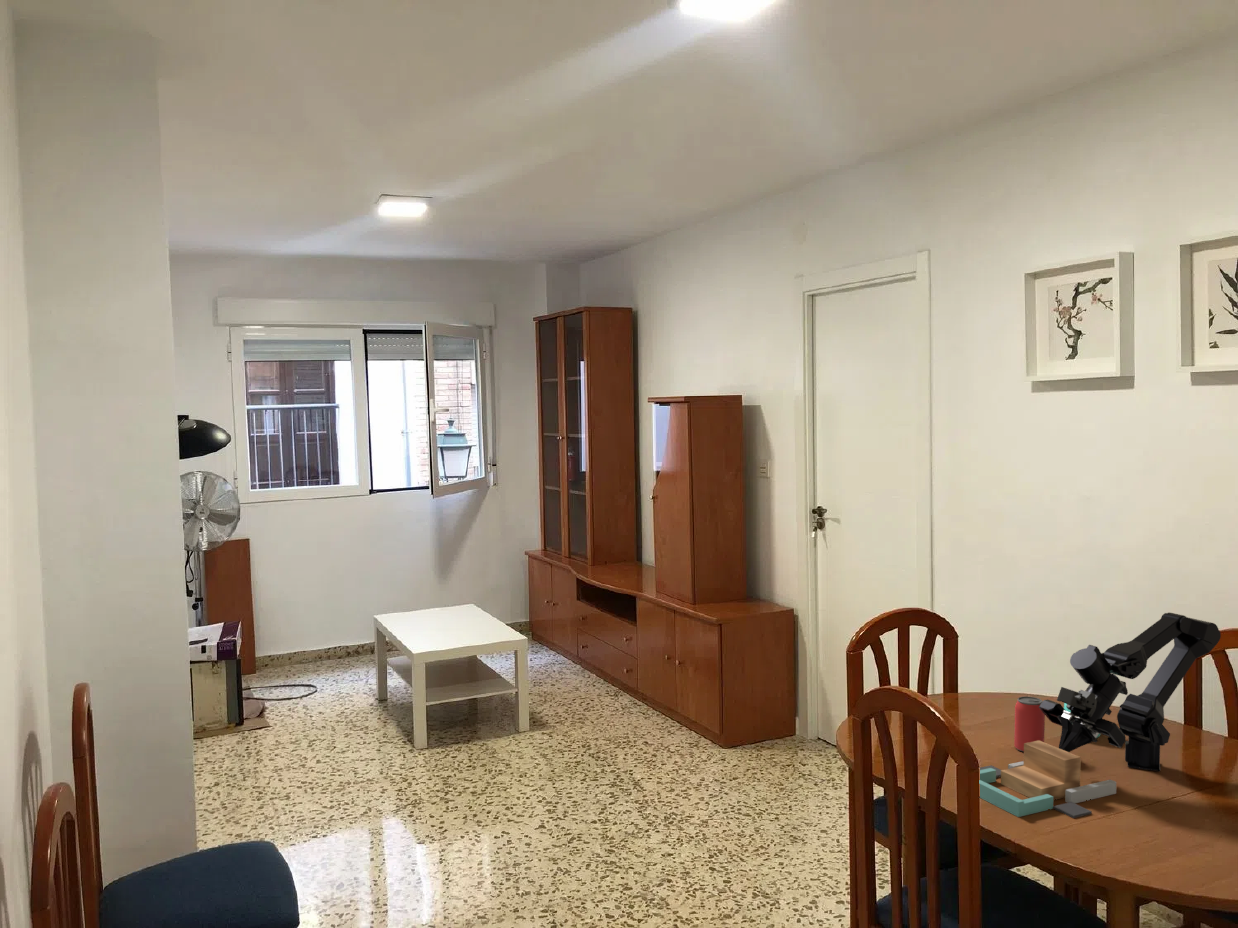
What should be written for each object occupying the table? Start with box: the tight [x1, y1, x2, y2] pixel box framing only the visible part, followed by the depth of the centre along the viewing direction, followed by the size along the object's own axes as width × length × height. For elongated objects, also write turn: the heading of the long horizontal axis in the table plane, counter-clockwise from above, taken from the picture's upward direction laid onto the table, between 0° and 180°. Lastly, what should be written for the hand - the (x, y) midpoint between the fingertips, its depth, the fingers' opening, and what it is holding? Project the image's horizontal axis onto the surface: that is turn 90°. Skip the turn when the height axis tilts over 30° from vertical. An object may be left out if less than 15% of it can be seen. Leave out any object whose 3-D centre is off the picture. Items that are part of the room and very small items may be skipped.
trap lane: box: [979, 760, 1117, 819], centre depth 208 cm, size 28×27×3 cm
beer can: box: [1013, 695, 1046, 753], centre depth 231 cm, size 7×7×12 cm
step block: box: [1000, 740, 1082, 801], centre depth 208 cm, size 11×11×8 cm
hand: (1060, 753), depth 210 cm, fingers closed, pressing on step block
